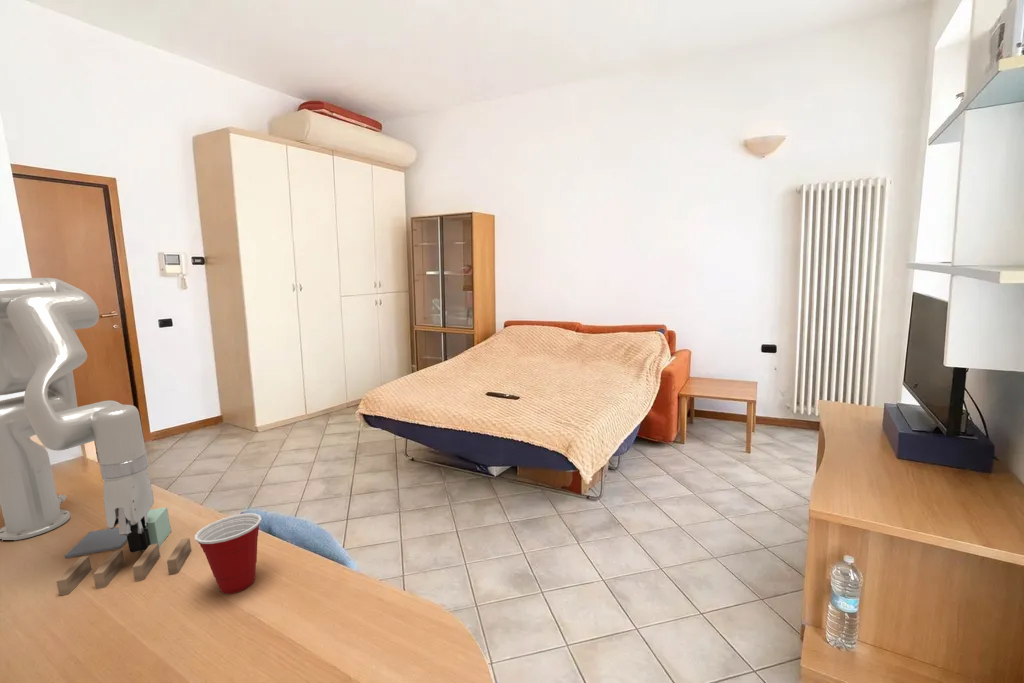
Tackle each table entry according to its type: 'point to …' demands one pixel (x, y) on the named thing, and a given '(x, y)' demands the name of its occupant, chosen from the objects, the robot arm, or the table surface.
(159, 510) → the block
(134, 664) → the table surface
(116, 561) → the rack
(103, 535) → the pad
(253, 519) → the plastic cup
